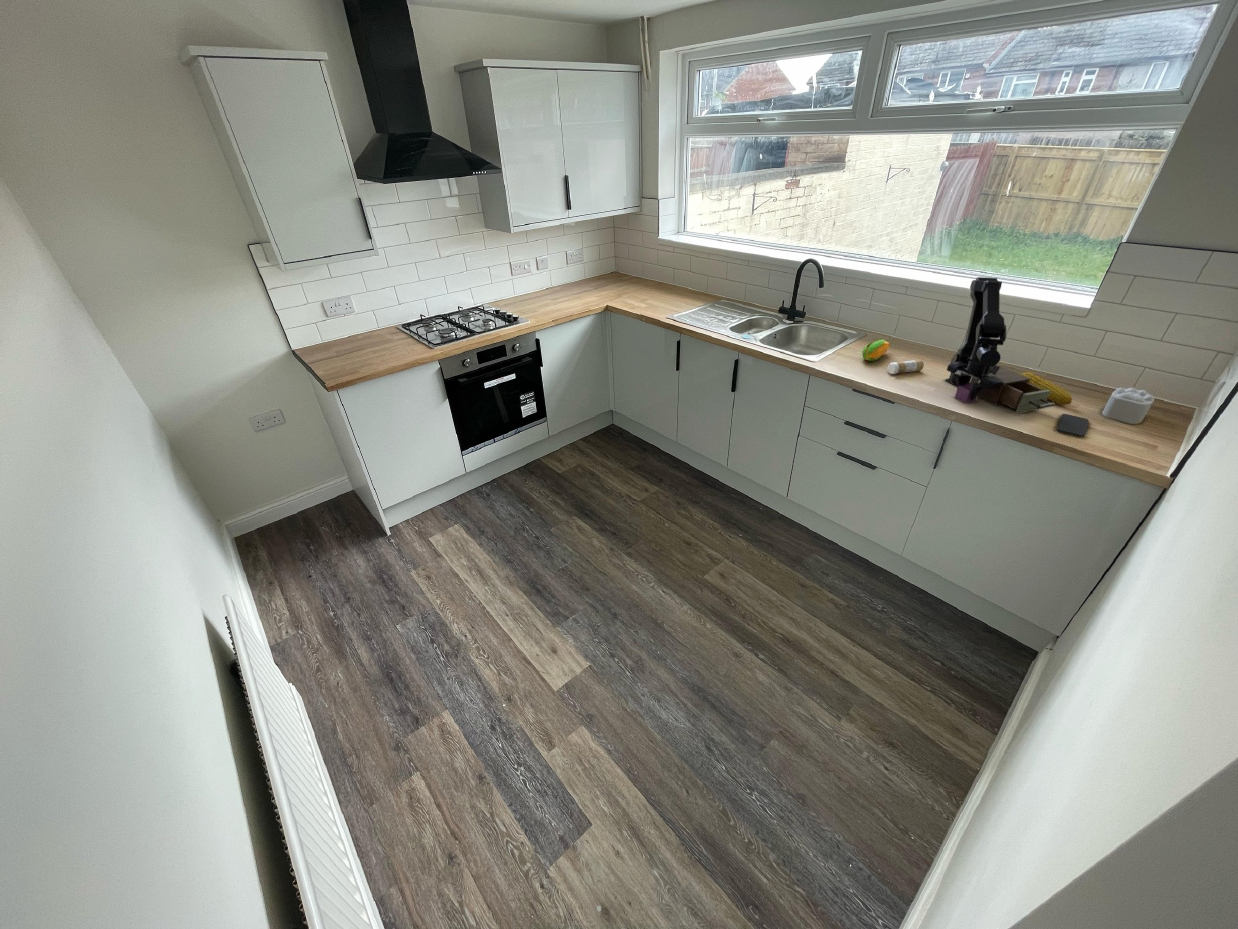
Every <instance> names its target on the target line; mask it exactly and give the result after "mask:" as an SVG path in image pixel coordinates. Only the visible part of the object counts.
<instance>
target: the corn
mask: <svg viewBox="0 0 1238 929" xmlns="http://www.w3.org/2000/svg"><path fill="white" fill-rule="evenodd" d="M889 348H890V343H889V342H888V341H886V339H879V340H876V341H874V342H870V343H868V344H866V345H865V346H864V347H863V349H862V351H861V353H862V358H863V359H864V360H865V361H869V362H874V361H878V360H879V359H880V358H883V357H884V356H885V354H886V352H887V351H888V349H889Z"/></svg>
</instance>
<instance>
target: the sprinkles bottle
mask: <svg viewBox="0 0 1238 929" xmlns="http://www.w3.org/2000/svg"><path fill="white" fill-rule="evenodd" d="M924 366H925V364H924V361H923V360H922V359H916V360H907V361H899V362H898V361H897V362H896V361H895V362H890V363H889V364H888V366H887V371H888V373H889V374H890V375H897V374H903V373H911V372H912V373H913V372H920V371H922V370H923V369H924Z"/></svg>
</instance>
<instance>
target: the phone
mask: <svg viewBox="0 0 1238 929" xmlns="http://www.w3.org/2000/svg"><path fill="white" fill-rule="evenodd" d="M1089 422H1090V420H1089V419H1088V418H1085V417H1081V416H1078V415H1073V414H1068V413H1062V414H1061V415H1060V418H1059V422H1058V424H1057V428H1056V431H1057V432H1058V433H1062V434H1066V435H1070V436H1073V437H1078V438H1085V437H1086V435H1087V432H1088V427H1089Z"/></svg>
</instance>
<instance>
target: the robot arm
mask: <svg viewBox="0 0 1238 929" xmlns="http://www.w3.org/2000/svg"><path fill="white" fill-rule="evenodd" d="M1002 284H1003V281H1000V280H998V278H997V277H983V276H982V277H980V276H977V277H976V278H975V279H973V280H972V281H971V283H970V285H969V286H970V287H969V291H970V294H969V296H970V298H971V300H972V302H973V304H972V308H971V312H970V316H969V321H968V325H967V329H966V334H965V339H964V342H963V344H961V345H960V346H959V348H958V349H957V352H955V353H954V355H953V357H951V360H950V363H949V364H948V365H947V368H946V371H947V372H950V374H949V378H945V381H946V382H947V383H949V384H951V385H953V386H956V388H958V387H959V386H960V385H966V384H970V381H971V379H972V377H973V378H975V379H977V380H979V381H978V383H974V384H973V386H972V391H971V397H970V400H973V399H974V398H975V397H976V396H977V395H978V394H979V393H980V392H981V391H982V390H983V389H984V388H985V389H995V388H1001V387H1002V384H1003V381H1002V379H999V378H997V377H995V376H990V377H985V376H984V374H986V375H988V374H989V373H992V374H994V375H996V373H997V372H998V370H999V369H1000V366H1001V365H998V364H999V362H1000V361H1001V353H1000V352H999V350H998V346H1003V345H1004V342H1005V341H1006V339H1007V325H1006V324H1005V317H1004V316H1003V315H1002V314H1001V313H1000V303H1001V302H1000V298H1001V297H1000V294H1001V293H1000V291H1001V288H1002Z"/></svg>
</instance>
